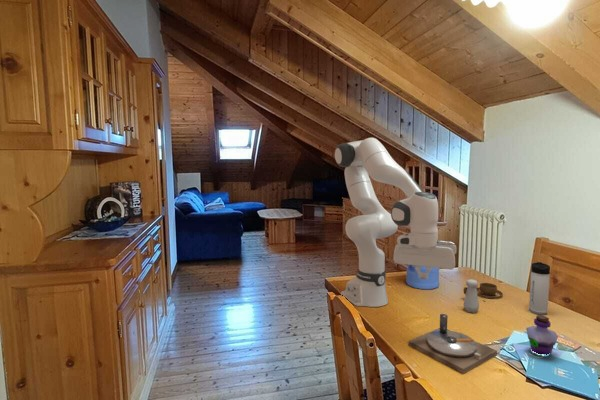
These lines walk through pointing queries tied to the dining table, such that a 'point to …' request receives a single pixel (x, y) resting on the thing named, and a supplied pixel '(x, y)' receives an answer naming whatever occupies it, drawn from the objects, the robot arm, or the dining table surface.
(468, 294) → the salt shaker
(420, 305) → the dining table surface
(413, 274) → the water jug
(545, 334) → the potion bottle
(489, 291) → the brown cup and saucer
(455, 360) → the stand
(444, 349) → the dial
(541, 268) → the travel mug
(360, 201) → the robot arm
